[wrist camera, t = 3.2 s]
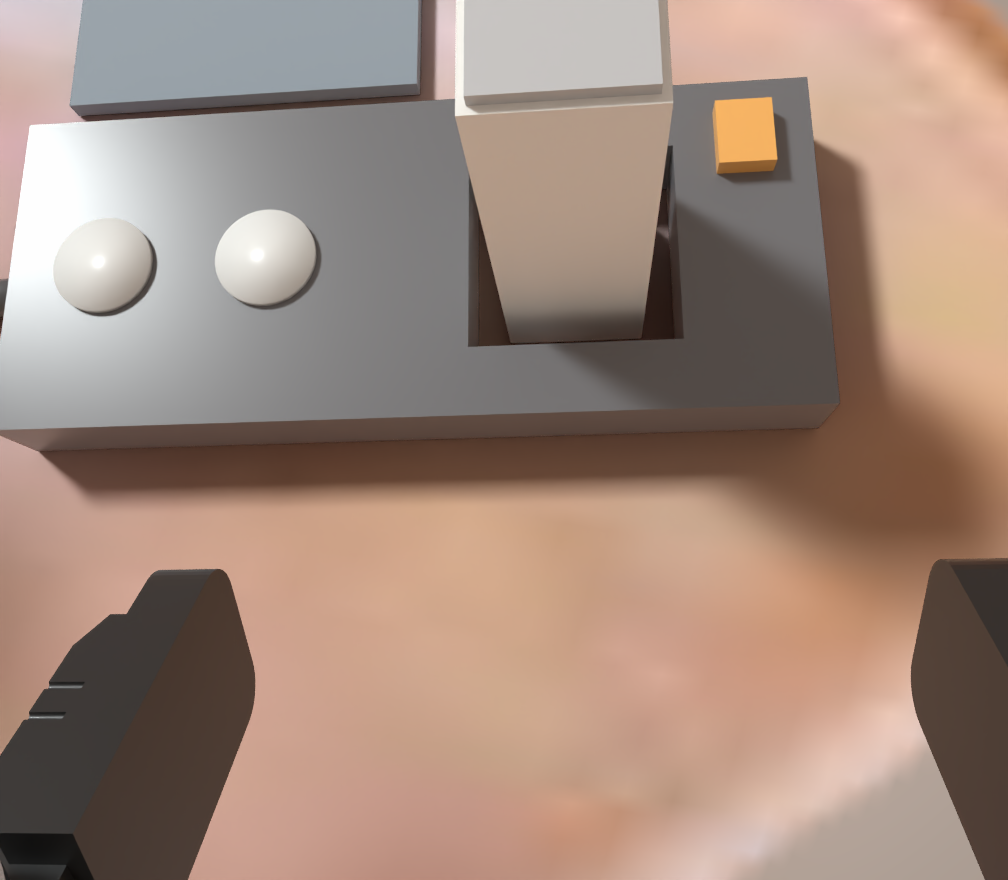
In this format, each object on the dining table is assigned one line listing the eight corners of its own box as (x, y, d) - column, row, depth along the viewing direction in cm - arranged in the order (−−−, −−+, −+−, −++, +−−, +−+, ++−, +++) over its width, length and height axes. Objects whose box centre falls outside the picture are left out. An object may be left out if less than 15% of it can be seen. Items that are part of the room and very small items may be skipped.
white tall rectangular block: (511, 343, 29) (452, 106, 17) (509, 225, 30) (454, -76, 18) (641, 338, 28) (674, 92, 17) (635, 219, 29) (663, -92, 18)
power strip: (-70, 454, 30) (-145, 428, 27) (-27, 172, 32) (-91, 121, 29) (818, 428, 27) (845, 396, 24) (789, 125, 30) (811, 64, 27)
